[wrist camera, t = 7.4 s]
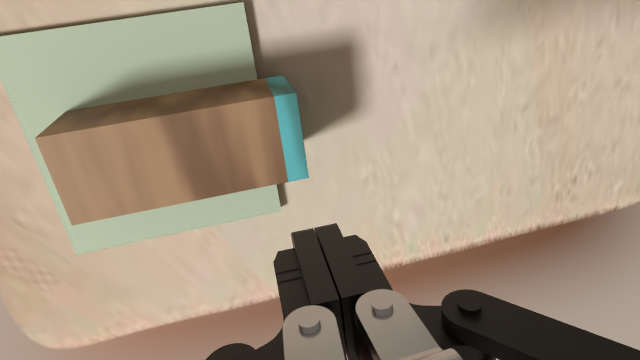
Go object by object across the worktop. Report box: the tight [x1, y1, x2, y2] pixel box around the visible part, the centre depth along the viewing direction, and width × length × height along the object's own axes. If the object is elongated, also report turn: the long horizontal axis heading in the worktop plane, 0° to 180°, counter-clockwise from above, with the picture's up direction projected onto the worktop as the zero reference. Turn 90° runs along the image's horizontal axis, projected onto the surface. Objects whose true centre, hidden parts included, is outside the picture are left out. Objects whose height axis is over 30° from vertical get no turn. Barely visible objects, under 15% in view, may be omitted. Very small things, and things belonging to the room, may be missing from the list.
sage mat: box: [0, 2, 281, 255], centre depth 28 cm, size 14×14×1 cm
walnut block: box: [35, 75, 309, 226], centre depth 26 cm, size 5×5×13 cm
